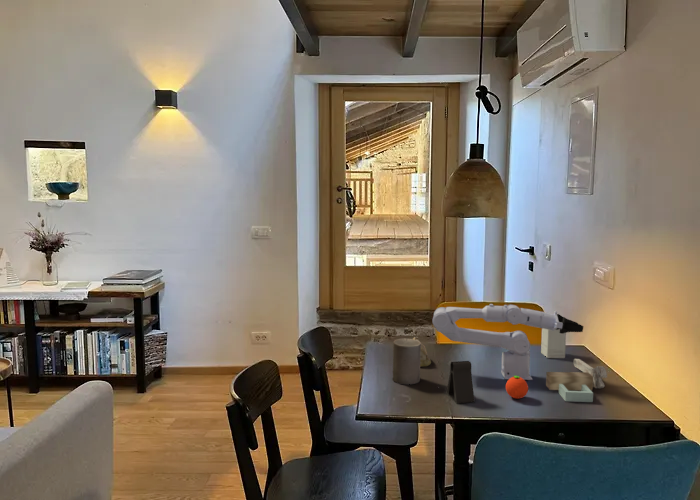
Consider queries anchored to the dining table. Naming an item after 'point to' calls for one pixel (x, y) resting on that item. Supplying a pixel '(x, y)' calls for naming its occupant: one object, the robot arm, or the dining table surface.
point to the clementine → (516, 387)
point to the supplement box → (553, 343)
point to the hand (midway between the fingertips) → (580, 327)
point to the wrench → (592, 372)
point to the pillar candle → (406, 361)
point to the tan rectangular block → (569, 380)
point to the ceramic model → (423, 355)
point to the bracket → (576, 394)
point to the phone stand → (460, 382)
